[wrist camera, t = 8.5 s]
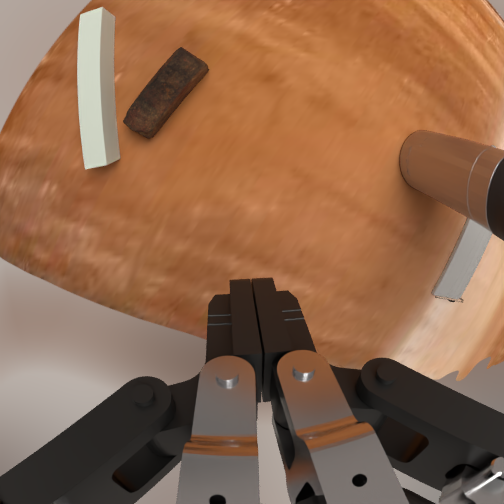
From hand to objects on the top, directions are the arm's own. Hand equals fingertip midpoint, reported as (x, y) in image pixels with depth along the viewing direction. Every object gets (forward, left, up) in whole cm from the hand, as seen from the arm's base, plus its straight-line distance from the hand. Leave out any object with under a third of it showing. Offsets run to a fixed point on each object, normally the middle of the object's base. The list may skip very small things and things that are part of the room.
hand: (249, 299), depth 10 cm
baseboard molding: (-47, +10, -28) cm, 55 cm away
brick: (+7, -10, -27) cm, 30 cm away
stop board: (+16, -13, -27) cm, 33 cm away
